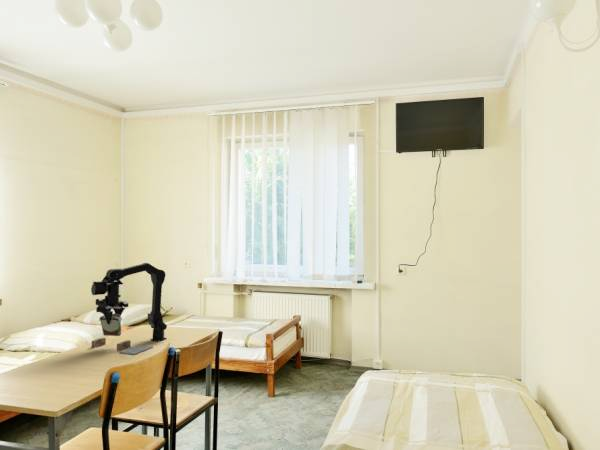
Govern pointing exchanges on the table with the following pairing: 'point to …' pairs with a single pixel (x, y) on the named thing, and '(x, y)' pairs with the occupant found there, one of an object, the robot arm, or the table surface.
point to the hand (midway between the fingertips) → (112, 323)
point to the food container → (111, 325)
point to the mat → (136, 349)
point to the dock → (119, 346)
